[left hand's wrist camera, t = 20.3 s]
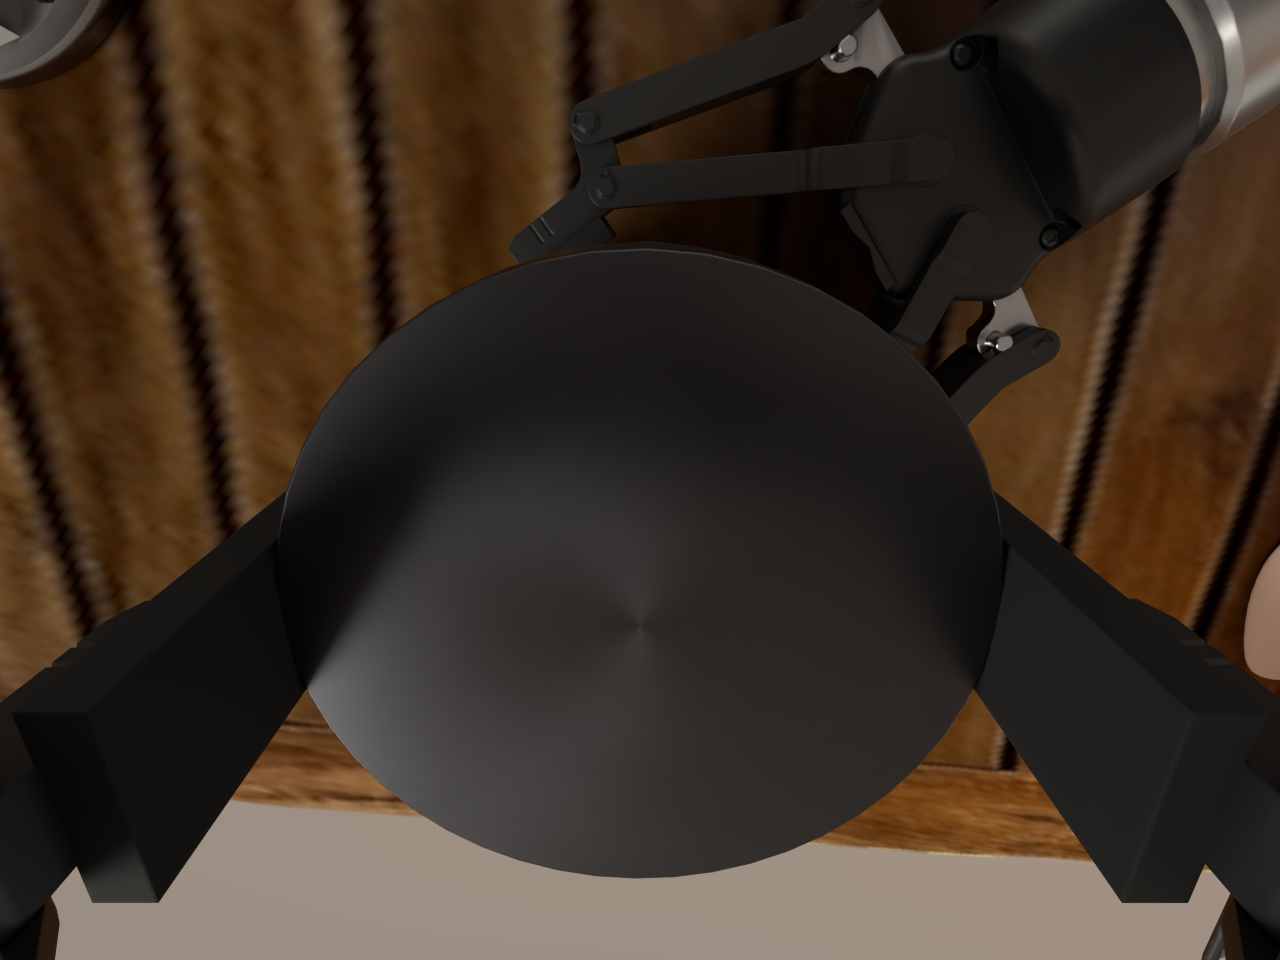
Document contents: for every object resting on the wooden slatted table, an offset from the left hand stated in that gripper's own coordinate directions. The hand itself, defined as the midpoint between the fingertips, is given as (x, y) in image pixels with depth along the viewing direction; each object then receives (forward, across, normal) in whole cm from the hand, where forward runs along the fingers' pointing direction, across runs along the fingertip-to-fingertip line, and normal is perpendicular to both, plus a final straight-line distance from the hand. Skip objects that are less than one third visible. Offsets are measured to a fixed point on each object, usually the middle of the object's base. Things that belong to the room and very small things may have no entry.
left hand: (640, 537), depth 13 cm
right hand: (+13, -3, -3) cm, 13 cm away
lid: (-3, 0, 0) cm, 3 cm away
